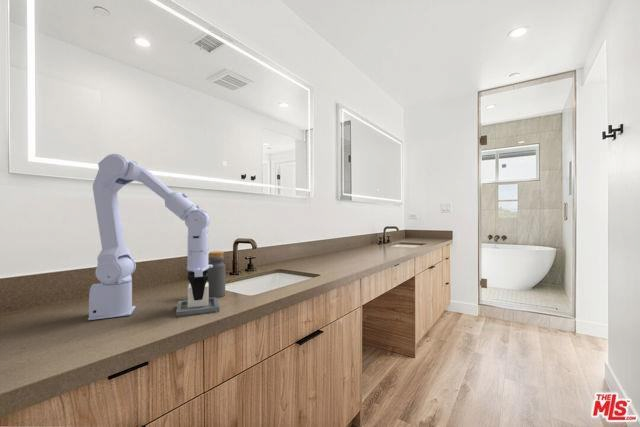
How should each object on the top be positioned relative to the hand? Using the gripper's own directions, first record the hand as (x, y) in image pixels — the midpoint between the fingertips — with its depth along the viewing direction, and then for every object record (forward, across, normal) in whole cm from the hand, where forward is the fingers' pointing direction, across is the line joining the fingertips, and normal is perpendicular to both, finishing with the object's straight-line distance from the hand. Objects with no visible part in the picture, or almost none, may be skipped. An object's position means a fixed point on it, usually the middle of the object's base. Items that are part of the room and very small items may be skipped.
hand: (198, 297), depth 85 cm
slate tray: (+3, 0, 0) cm, 3 cm away
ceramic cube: (+2, 0, 0) cm, 2 cm away
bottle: (+4, +13, -6) cm, 15 cm away
